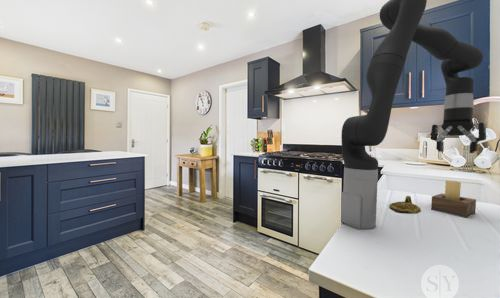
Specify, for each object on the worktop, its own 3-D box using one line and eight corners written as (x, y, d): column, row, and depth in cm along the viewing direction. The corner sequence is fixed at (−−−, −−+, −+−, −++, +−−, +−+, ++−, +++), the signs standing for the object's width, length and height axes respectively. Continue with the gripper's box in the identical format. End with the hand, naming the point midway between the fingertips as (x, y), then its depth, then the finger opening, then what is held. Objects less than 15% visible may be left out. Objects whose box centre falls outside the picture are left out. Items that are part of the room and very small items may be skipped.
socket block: (466, 217, 71) (467, 203, 71) (431, 209, 79) (431, 196, 79) (475, 213, 76) (476, 199, 76) (441, 205, 84) (441, 193, 84)
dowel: (457, 210, 75) (458, 183, 75) (442, 207, 78) (443, 181, 78) (460, 209, 77) (462, 182, 77) (446, 206, 81) (447, 180, 80)
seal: (415, 220, 72) (422, 210, 82) (418, 207, 71) (424, 198, 81) (384, 210, 78) (394, 202, 89) (386, 198, 78) (396, 191, 88)
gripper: (429, 109, 80) (427, 151, 81) (483, 103, 68) (480, 153, 69) (437, 110, 84) (435, 151, 85) (490, 106, 72) (487, 153, 72)
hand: (455, 152), depth 77 cm, fingers open, 8 cm apart
